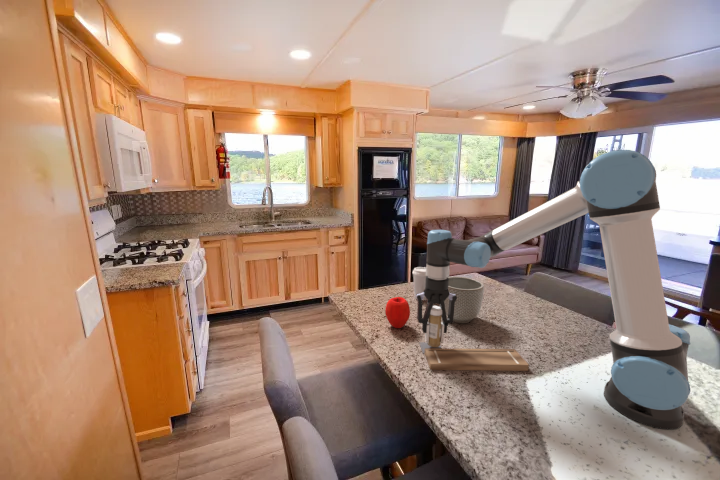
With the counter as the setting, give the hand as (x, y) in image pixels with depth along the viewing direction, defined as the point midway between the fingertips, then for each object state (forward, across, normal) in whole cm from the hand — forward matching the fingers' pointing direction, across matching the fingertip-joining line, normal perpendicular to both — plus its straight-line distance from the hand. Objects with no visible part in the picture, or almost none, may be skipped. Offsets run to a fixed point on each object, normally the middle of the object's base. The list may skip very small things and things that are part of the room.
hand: (433, 341), depth 106 cm
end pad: (+3, +1, 0) cm, 3 cm away
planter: (+3, -16, -24) cm, 29 cm away
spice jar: (+1, 0, 0) cm, 1 cm away
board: (+3, -11, +8) cm, 14 cm away
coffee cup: (+3, -4, -46) cm, 47 cm away
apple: (+3, +11, -16) cm, 20 cm away
